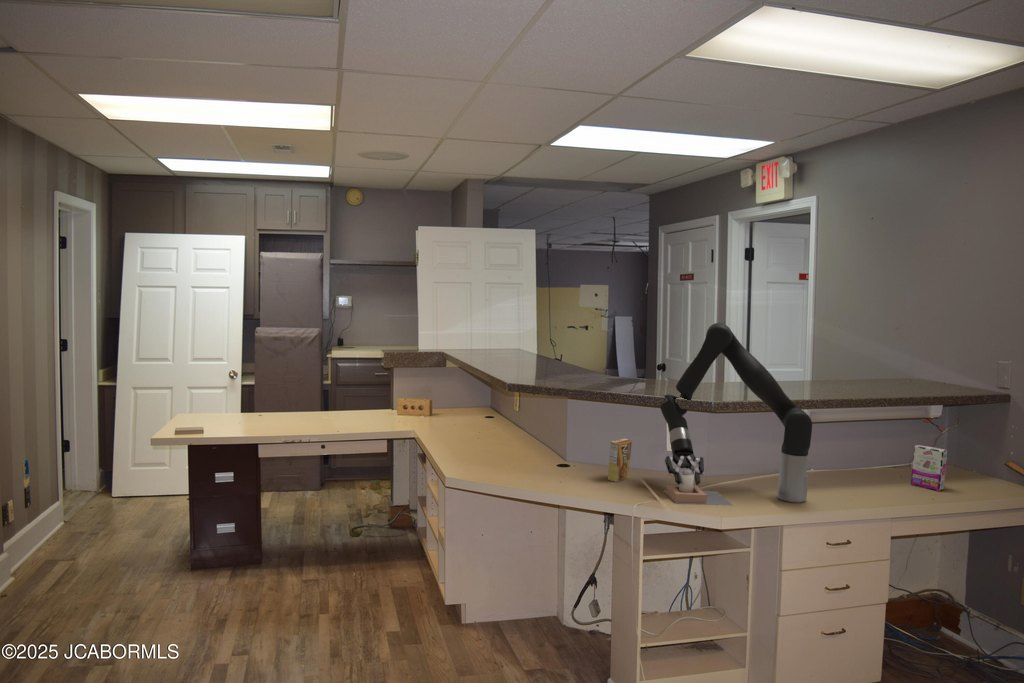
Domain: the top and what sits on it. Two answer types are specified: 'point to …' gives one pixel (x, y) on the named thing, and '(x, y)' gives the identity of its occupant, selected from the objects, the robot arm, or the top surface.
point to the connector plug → (686, 481)
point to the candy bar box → (929, 467)
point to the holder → (696, 496)
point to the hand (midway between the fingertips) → (688, 483)
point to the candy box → (619, 459)
